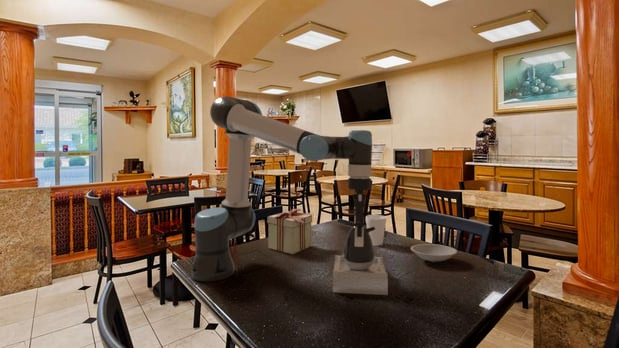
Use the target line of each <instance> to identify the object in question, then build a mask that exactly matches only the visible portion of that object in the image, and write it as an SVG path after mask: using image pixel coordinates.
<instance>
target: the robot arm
mask: <svg viewBox="0 0 619 348" xmlns="http://www.w3.org/2000/svg"><path fill="white" fill-rule="evenodd" d="M209 110H210V111H209V112H210V113H209V115H210V118H211V121H212V122H213V123H214V124H215V125H216V126H218V127H219V128H220V129H225V133H224V134H225V135H226V136H227V137H228V152H227V167H226V168H227V171H226V189H225V199H223V200H222V201H221V203H220V204H221V206H220V207H212V208H206V209H203V210H201V211H199V212H197V214H196V215H195V217H194V224H193V226H194V237H195V239H194V240H195V241H194V242H195V256H194V260H193V263H192V267H191V278H192V279H193V280H195V281H198V282H204V283H205V282H206V283H207V282H218V281H221V280H225V279H227V278H230V277H231V276H232V275H233V274H234V273H235V263H234V261H233V258H232V255H231V253H230V240H233V239H235V238H237V237H239V236H243V235H246V234H247V233H248V232H250V231H251V230H252V229H253V227H254V226H255V224H256V213H255V211H254V209H253V208H252V203H251V202H250V200H249V198H248V197H249V183H250V169H251V168H250V166H251V153H252V152H251V151H252V141H253V139H255V138H257V139H259V140H262V141H265V142H267V143H270V144H273V145H274V146H275V145H276V146H278V147H280V148H283V149H286V150H288V151H291V152H294V153H297V154H299V155H301V156H302V158H304V159H305V160H307V161H311V162H312V161H313V162H318V161H323V160H348V166H347V167H348V171H347V173H348V174H347V175H348V176H349V177H348V179H347V181H348V182H347V188H348V189H349V190H352V191H354V193H353V197H352V198H353V207H354V211H353V212H354V213H353V214H354V219H353V220H354V221H353V225H352V227H353V226H355V246H357V247H363V239H364V226H365V207H366V194H364V191H369V190H371V189H372V178H370V177H372V171H374V167H372V159H373V139H372V138H373V135H372V132H371V131H370V130H367V129H366V130H363V129H362V130H361V129H359V130H349V132H348V133H349V134H348V135H347V136H330V135H329V136H328V135H327V136H326V135H319V134H316V133H313V132H311V131H309V130H305V129H302V128H300V127H296V126H293V125H291V124H288V123H285V122H282V121H279V120H276V119H274V118H271V117H268V116H265V115H263V113H262V110H261V108H260V107H259V106H258V105H257V104H256V103H254V102H252V101H250V100H247V99H243V98H237V97H233V96H221V97H218V98H217V99H216V100H214V101H213V102H212V104H211V106H210V109H209Z"/></svg>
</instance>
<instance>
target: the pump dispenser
mask: <svg viewBox="0 0 619 348" xmlns="http://www.w3.org/2000/svg"><path fill="white" fill-rule="evenodd" d="M373 230H375V227H371V228H367V226H366V225H364V239H363V247H357V246H355V226H353V225H352V226H351V228H350V229H349V232H348V234H347V237H346V240H345V243H344V249H343V253H344V259H345V261H346V264H347V265H348V266H349V267H350V268H351V269H353V270H357V271H362V270H366V269H368V268H369V267H370V266H371V265H372V262H373V260H374V254H375V250H374V246H373V244H372V240H371V237H370V234H369V232H371V231H373Z"/></svg>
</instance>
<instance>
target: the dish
mask: <svg viewBox="0 0 619 348" xmlns="http://www.w3.org/2000/svg"><path fill="white" fill-rule="evenodd" d="M410 250H411V251H412V252H413V253H414V255H416V256H417V257H419V258H421V259H422V260H424V261H429V262H432V263H436V262H443V261H446V260H449V259H450V258H452V257H453V256H454V255H456V254H457V253H458V250H457V249H456V248H454V247H451V246H449V245H448V246H447V245H444V244H433V243H421V244H419V243H418V244H416V245H412V246H410Z"/></svg>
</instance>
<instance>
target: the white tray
mask: <svg viewBox="0 0 619 348" xmlns="http://www.w3.org/2000/svg"><path fill="white" fill-rule="evenodd" d="M388 276H389V275H388V272H386V268H385V265H384V257H383V256H376V254H375V253H374V260H373V262H372V265H371V266H370V267H369V268H368V269H366V270H362V271H357V270H353V269H351V268H350V267H349V266H348V265H347V264H346V261H345V259H344V252H342V253H341V255H339V254H338V255H336V254H335V255H334V265H333V270H332V293H341V294H356V295H358V294H360V295H361V294H363V295H378V296H380V295H382V296H388V294H389V282H388V281H389V279H388Z"/></svg>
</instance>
